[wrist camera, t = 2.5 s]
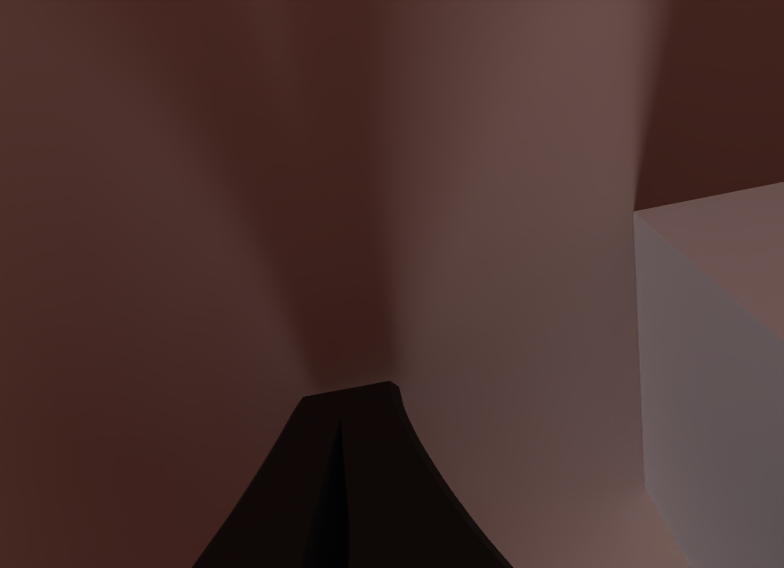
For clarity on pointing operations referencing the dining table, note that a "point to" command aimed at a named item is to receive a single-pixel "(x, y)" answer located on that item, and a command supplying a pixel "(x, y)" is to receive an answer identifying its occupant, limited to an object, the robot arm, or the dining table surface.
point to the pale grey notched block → (714, 373)
